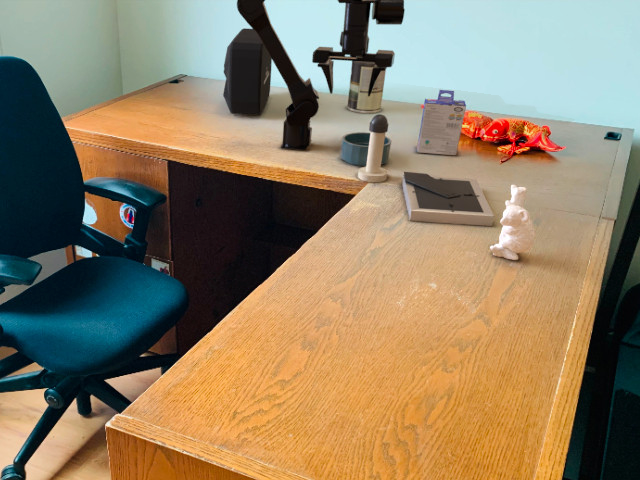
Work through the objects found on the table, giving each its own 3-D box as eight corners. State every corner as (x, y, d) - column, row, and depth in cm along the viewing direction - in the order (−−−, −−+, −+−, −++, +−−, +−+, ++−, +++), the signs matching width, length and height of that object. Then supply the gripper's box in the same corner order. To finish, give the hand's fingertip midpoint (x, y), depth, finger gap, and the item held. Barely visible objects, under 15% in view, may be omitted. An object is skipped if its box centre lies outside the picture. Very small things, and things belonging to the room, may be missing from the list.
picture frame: (401, 183, 148) (409, 220, 131) (403, 171, 146) (412, 207, 129) (474, 188, 147) (491, 226, 129) (476, 175, 145) (495, 212, 128)
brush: (353, 178, 150) (360, 115, 142) (364, 170, 155) (371, 109, 147) (380, 184, 148) (389, 120, 140) (390, 176, 152) (399, 113, 144)
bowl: (337, 165, 158) (339, 144, 155) (343, 150, 167) (345, 130, 165) (386, 170, 156) (389, 148, 153) (389, 155, 165) (392, 134, 162)
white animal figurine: (482, 243, 123) (497, 180, 116) (520, 246, 122) (537, 183, 115) (491, 264, 116) (508, 198, 109) (531, 267, 115) (550, 201, 108)
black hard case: (260, 120, 189) (262, 44, 178) (217, 117, 190) (217, 42, 179) (270, 95, 214) (273, 27, 203) (233, 93, 215) (233, 25, 204)
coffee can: (340, 109, 201) (345, 59, 193) (356, 103, 208) (362, 54, 200) (371, 115, 196) (378, 64, 188) (386, 108, 203) (393, 59, 195)
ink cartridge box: (455, 149, 170) (467, 90, 162) (457, 156, 165) (469, 95, 157) (416, 146, 171) (426, 87, 163) (416, 153, 167) (426, 93, 159)
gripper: (400, 21, 158) (392, 89, 166) (323, 17, 162) (319, 84, 171) (395, 28, 149) (387, 100, 157) (313, 24, 153) (309, 94, 162)
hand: (350, 94), depth 162 cm, fingers open, 9 cm apart
